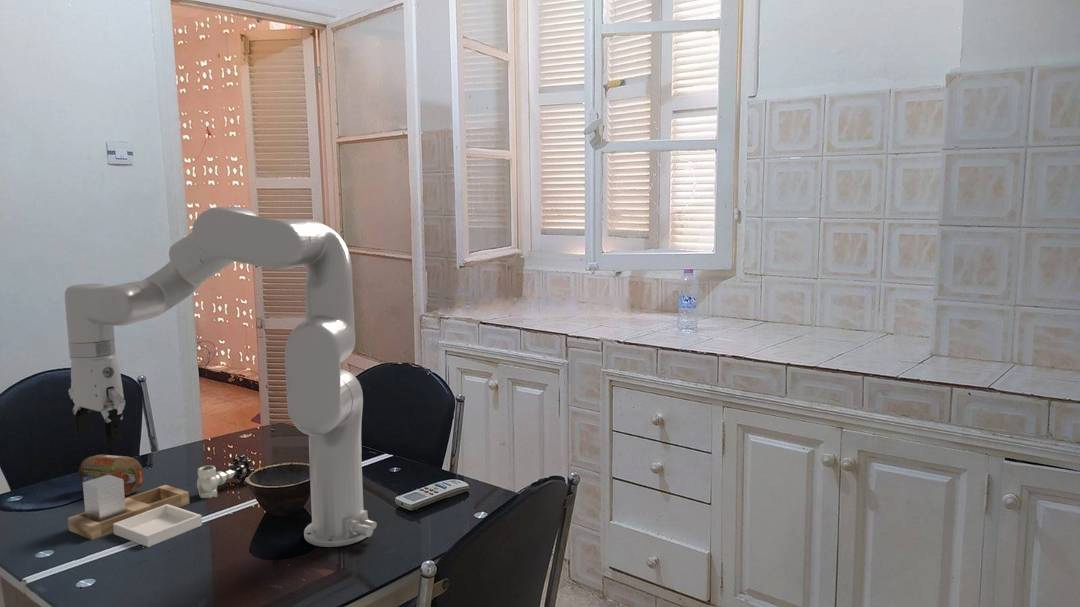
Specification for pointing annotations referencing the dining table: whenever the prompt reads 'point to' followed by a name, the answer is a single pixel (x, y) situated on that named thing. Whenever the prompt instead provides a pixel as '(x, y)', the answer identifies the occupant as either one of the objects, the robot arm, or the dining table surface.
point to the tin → (113, 470)
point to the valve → (221, 476)
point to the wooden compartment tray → (129, 510)
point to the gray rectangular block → (104, 498)
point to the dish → (157, 525)
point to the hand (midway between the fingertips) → (99, 437)
